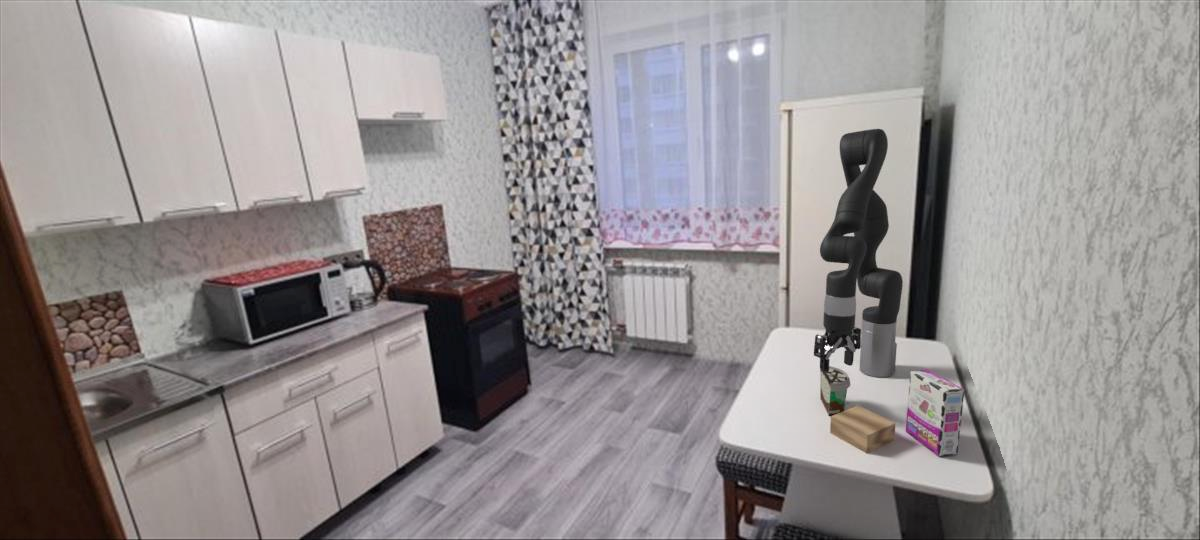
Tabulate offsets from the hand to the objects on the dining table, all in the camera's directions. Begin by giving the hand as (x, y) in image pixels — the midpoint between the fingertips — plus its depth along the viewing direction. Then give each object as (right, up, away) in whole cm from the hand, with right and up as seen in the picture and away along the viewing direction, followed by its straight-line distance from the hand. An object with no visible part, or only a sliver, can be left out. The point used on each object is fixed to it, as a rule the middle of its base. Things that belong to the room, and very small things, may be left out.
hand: (836, 367), depth 132 cm
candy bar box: (+15, -15, -16) cm, 26 cm away
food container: (+1, -12, +3) cm, 12 cm away
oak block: (+1, -15, -11) cm, 19 cm away
